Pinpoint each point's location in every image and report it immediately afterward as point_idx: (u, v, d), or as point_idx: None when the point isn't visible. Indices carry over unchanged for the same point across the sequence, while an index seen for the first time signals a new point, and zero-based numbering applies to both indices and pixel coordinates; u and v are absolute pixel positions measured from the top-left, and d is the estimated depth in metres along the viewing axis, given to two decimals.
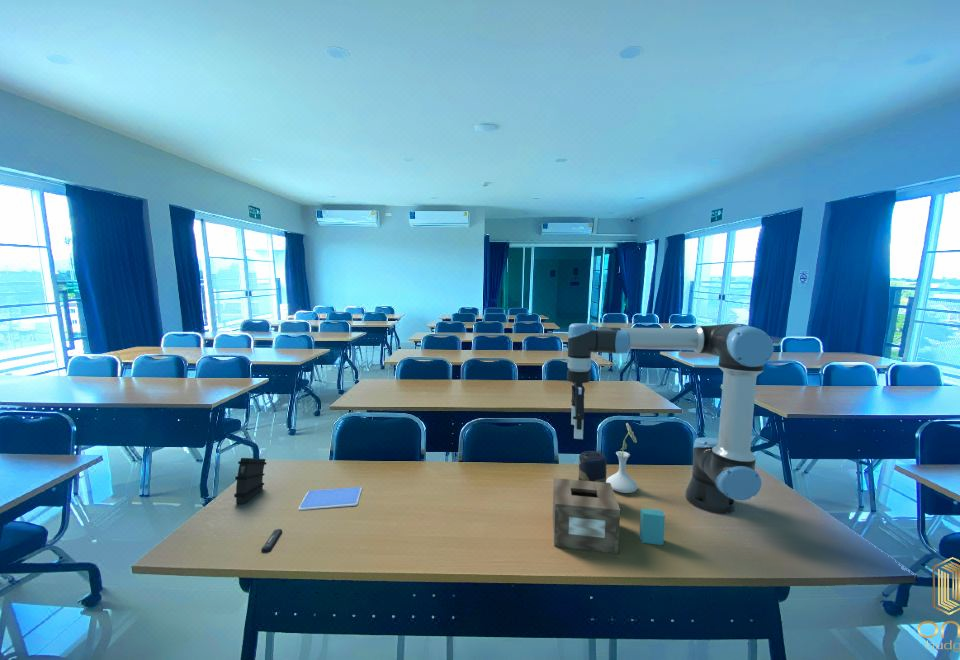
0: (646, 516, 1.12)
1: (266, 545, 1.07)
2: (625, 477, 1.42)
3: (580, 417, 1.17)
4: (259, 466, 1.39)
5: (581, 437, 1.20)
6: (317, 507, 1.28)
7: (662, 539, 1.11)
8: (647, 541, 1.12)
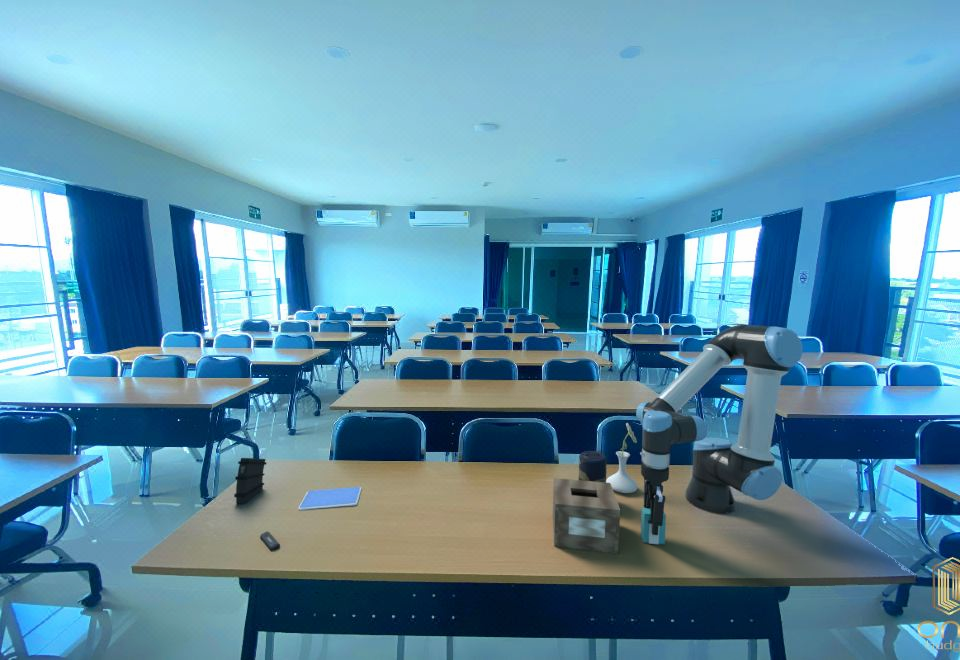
0: (647, 516, 1.11)
1: (273, 543, 1.08)
2: (625, 477, 1.42)
3: (658, 524, 1.08)
4: (259, 466, 1.39)
5: (657, 542, 1.11)
6: (317, 507, 1.28)
7: (663, 538, 1.11)
8: None
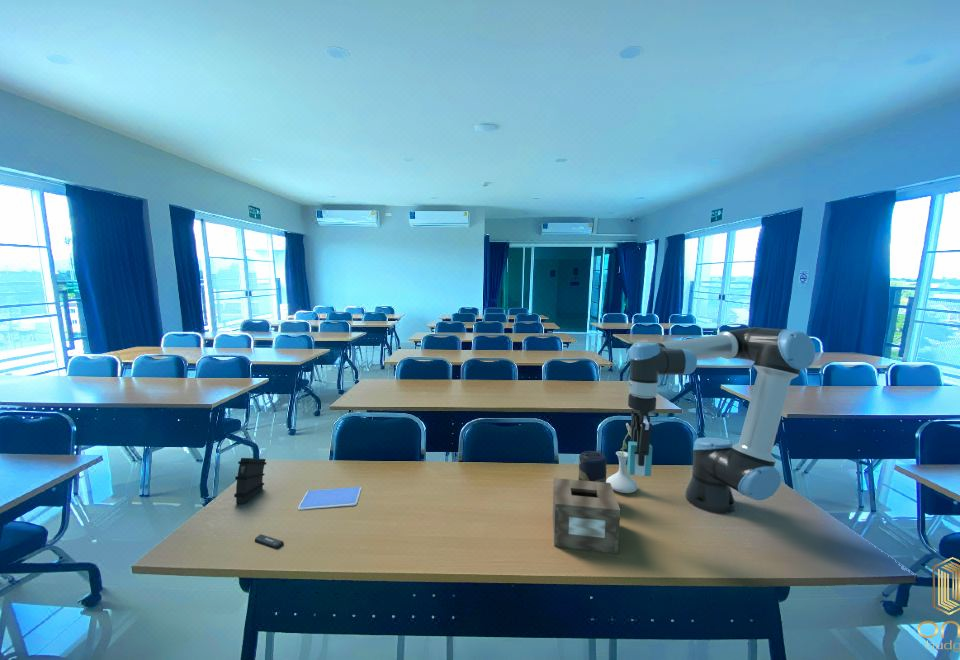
0: (633, 448, 1.10)
1: (277, 542, 1.09)
2: (625, 477, 1.42)
3: (644, 453, 1.07)
4: (259, 466, 1.39)
5: (643, 474, 1.10)
6: (316, 507, 1.28)
7: (650, 470, 1.10)
8: None
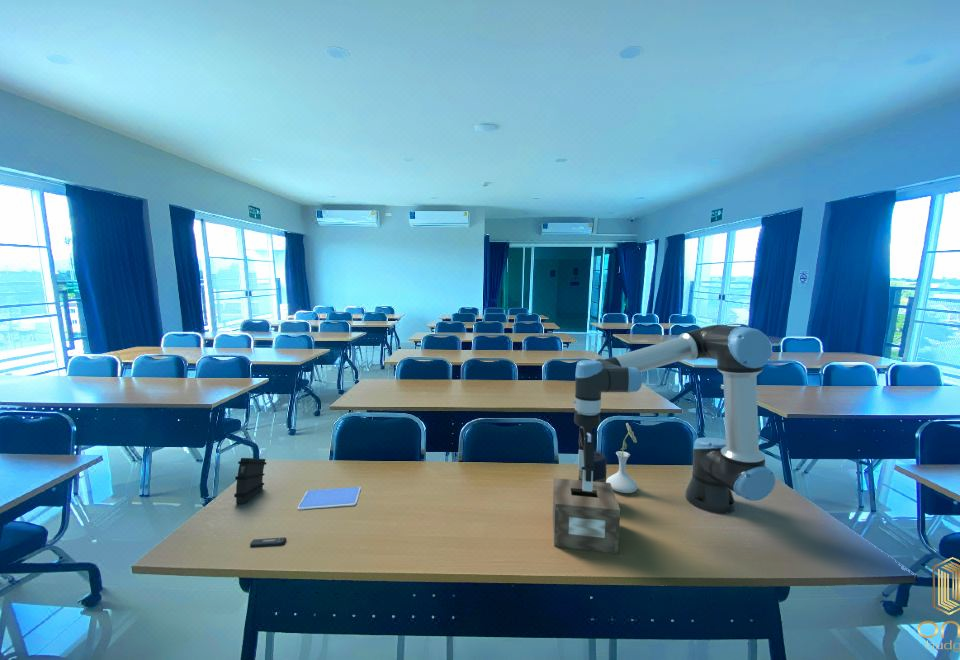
0: None
1: (280, 539, 1.10)
2: (625, 477, 1.42)
3: (590, 469, 1.05)
4: (259, 466, 1.39)
5: (590, 489, 1.08)
6: (316, 507, 1.28)
7: None
8: None
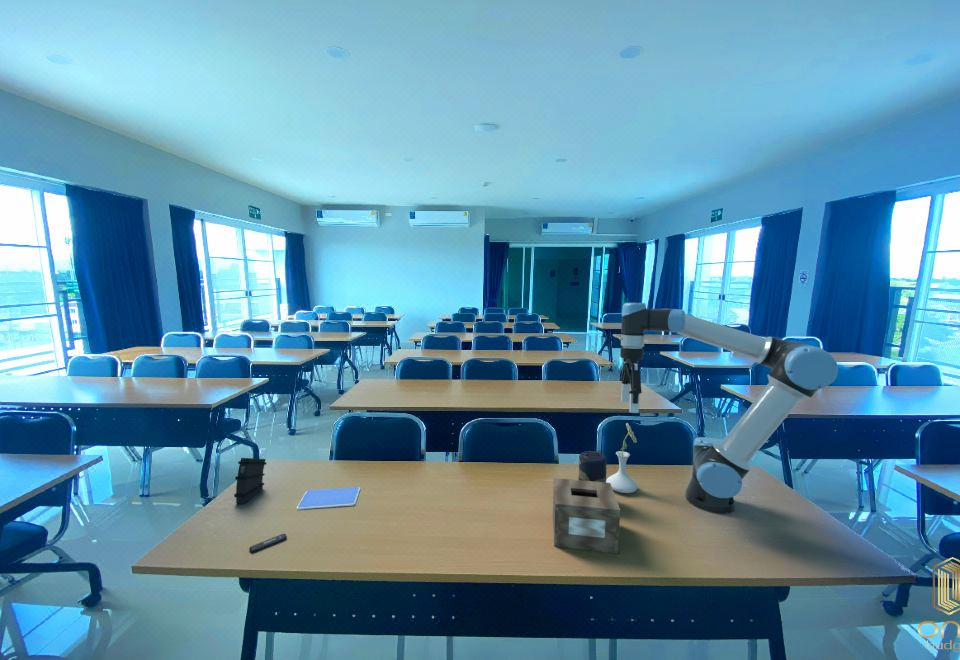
0: None
1: (281, 536, 1.12)
2: (625, 477, 1.42)
3: (637, 391, 1.22)
4: (259, 466, 1.39)
5: (637, 411, 1.25)
6: (315, 507, 1.28)
7: None
8: None
